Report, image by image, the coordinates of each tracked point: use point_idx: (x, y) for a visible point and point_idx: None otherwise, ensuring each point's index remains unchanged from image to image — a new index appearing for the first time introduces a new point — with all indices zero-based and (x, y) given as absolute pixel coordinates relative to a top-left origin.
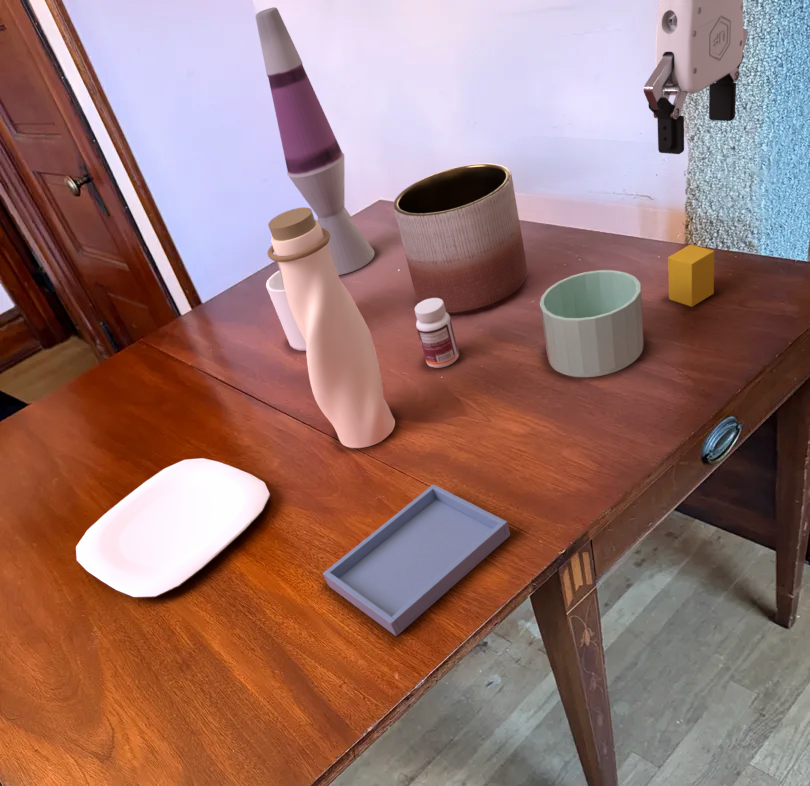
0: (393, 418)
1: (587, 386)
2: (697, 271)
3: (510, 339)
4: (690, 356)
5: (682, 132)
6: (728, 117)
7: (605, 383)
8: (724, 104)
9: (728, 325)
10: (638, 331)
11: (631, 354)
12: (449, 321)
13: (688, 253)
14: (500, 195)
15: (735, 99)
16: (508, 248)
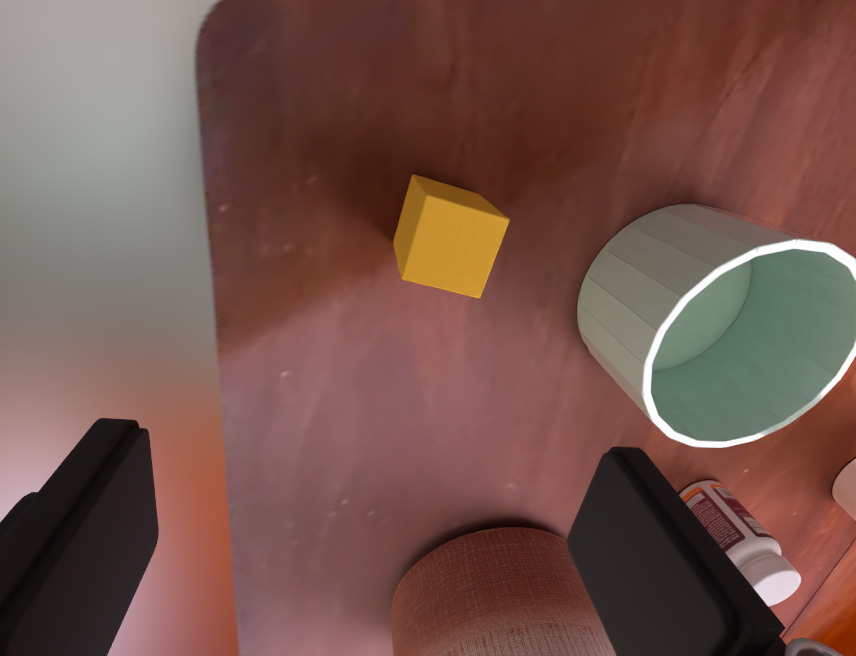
0: (853, 462)
1: None
2: (482, 206)
3: (634, 446)
4: (674, 96)
5: (694, 528)
6: (142, 447)
7: (769, 217)
8: (102, 542)
9: (542, 69)
10: (716, 217)
11: (719, 209)
12: (747, 538)
13: (454, 257)
14: None
15: (26, 510)
16: (529, 607)
